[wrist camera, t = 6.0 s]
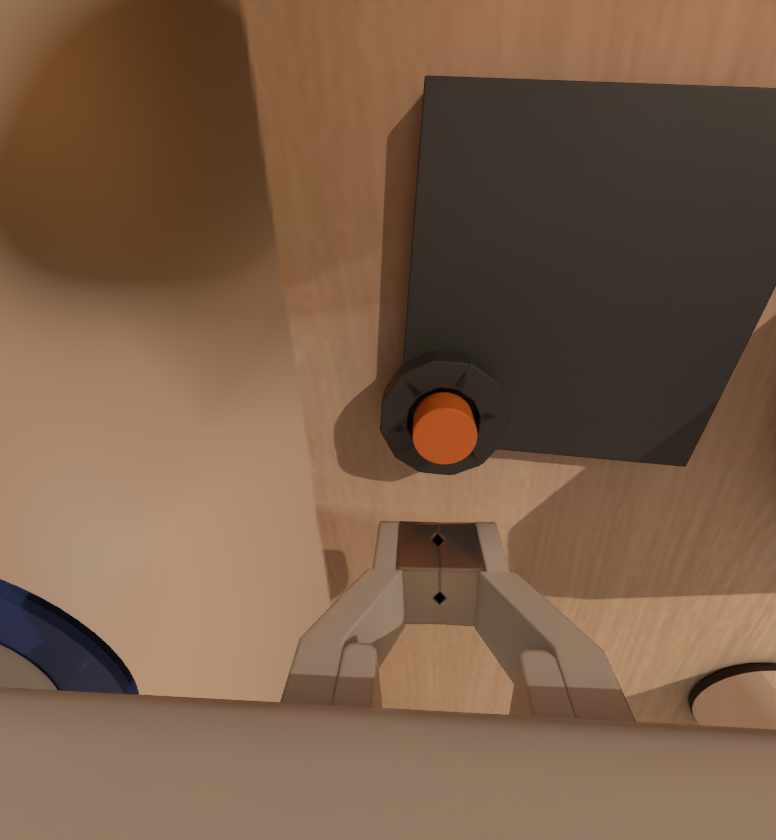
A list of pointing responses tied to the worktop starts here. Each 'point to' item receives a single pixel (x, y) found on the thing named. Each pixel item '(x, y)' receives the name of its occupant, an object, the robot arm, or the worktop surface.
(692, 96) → the scale
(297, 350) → the worktop surface
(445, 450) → the button
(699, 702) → the mug
